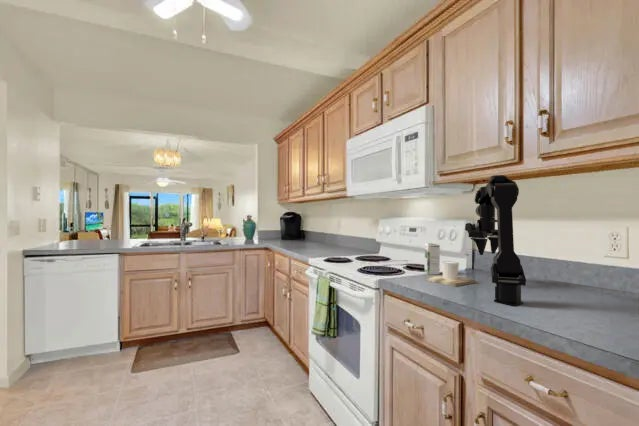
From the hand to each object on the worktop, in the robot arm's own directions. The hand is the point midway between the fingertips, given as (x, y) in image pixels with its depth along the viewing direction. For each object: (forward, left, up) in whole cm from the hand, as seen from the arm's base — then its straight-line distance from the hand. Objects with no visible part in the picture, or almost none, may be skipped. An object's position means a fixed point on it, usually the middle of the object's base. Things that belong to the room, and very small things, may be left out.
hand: (487, 254), depth 133 cm
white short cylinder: (+10, +11, -11) cm, 19 cm away
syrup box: (+26, +2, -12) cm, 29 cm away
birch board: (+10, +11, -12) cm, 19 cm away
